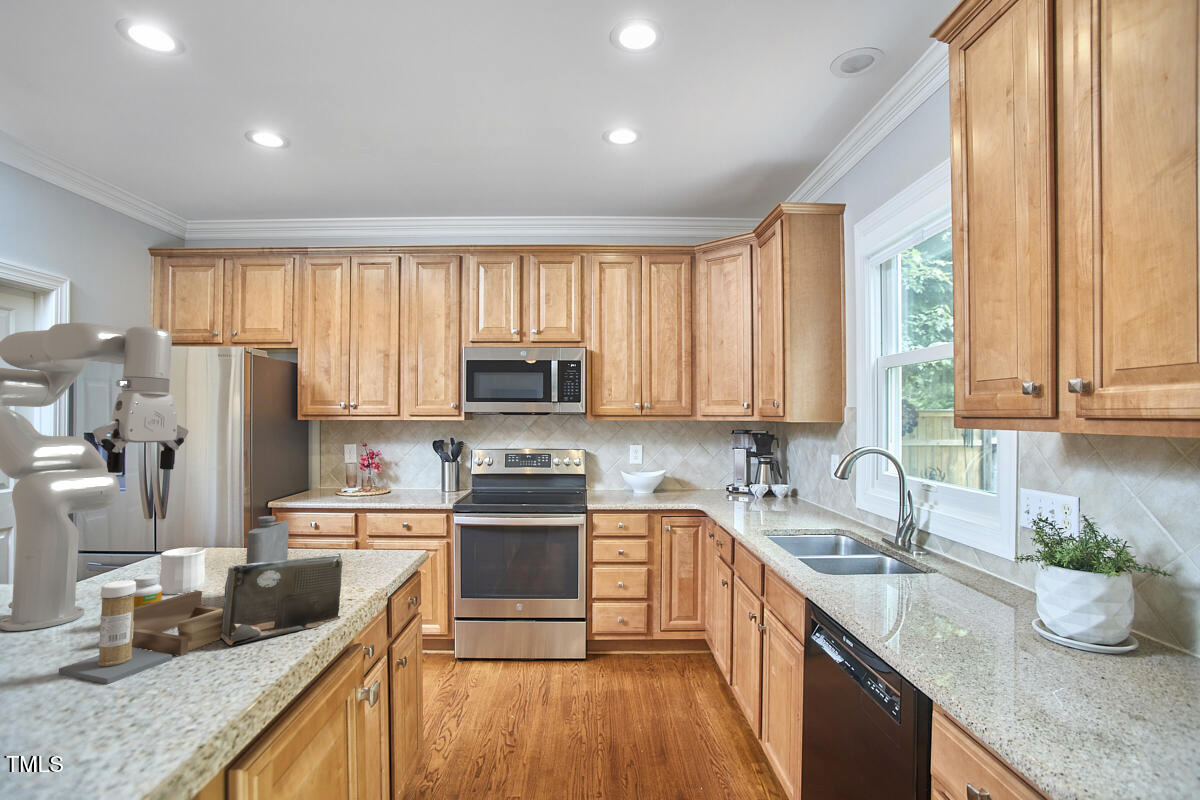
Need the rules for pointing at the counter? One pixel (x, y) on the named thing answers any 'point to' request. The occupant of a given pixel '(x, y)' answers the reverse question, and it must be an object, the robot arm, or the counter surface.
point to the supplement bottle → (147, 590)
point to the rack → (166, 622)
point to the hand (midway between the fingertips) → (141, 470)
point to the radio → (280, 597)
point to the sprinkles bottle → (116, 622)
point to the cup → (182, 570)
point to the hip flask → (268, 541)
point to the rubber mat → (113, 673)
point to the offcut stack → (201, 629)
